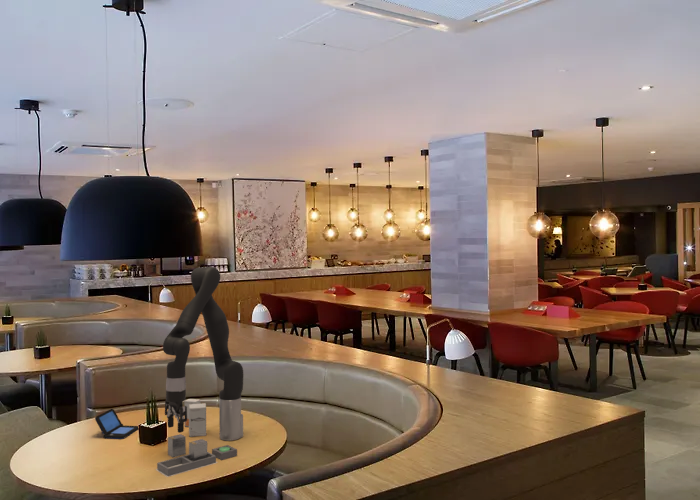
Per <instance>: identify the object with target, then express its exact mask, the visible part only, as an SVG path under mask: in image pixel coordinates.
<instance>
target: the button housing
mask: <svg viewBox="0 0 700 500" xmlns="http://www.w3.org/2000/svg"><path fill="white" fill-rule="evenodd" d="M221 447H229V448H230V450H228V451H225V452H221V451H219V449H220V448H221ZM211 454H213V455H215V456H216V459H218V460H220V461H224V460H228V459H230V458H235V457H237V456H238V449H237V448H235V447H233V446H230V445H228V444H226V445H222V446H218V447H214V448H211Z"/></svg>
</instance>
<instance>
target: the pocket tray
mask: <svg viewBox="0 0 700 500" xmlns="http://www.w3.org/2000/svg"><path fill="white" fill-rule="evenodd" d="M156 463H157V464H156V469H155V471H157V472H158V473H160V474H161V475H163V476H164V477H166V478H169V477H172V476H176V475H179V474H183V473H187V472H190V471H194V470H197V469H201V468H204V467H208V466H211V465H215V464H218V463H219V462H218V461H217V458H216V456H215V455H213V454H212V452H210V451H207V458H204V459H200V460H197V461H193V462H192V461H191V460H189V454H184V455H181V456H177V457H172V458H170V459H167V460H162V461H158V462H156Z"/></svg>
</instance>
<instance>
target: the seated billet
mask: <svg viewBox="0 0 700 500" xmlns="http://www.w3.org/2000/svg"><path fill="white" fill-rule="evenodd" d="M207 452H208V440H205V439H203V438H200V439H195V440H192V441H189V442H188V455H189V460H191V461H192V462H193V461H197V460H200V459H204V458H207Z"/></svg>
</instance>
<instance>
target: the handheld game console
mask: <svg viewBox="0 0 700 500" xmlns="http://www.w3.org/2000/svg"><path fill="white" fill-rule="evenodd" d="M94 420H95V422H96V424H97V426H98V427H99V429H100V431H101V433H102V434H103V439H114V440H115V439H116V440H117V439H118V440H123V439H126V438H127V437H129V436H130V435H132V434H133V433H135V432H136V431H138V430H139V429H138V426H139V425H124V424H123V423H122V422H121V420H120V419H119V416H118V414H117V413H116V411H115V409H113V408H110V409H108V410H107V411H104V412H103V413H99V414H98V415H96V416H95V418H94Z"/></svg>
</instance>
